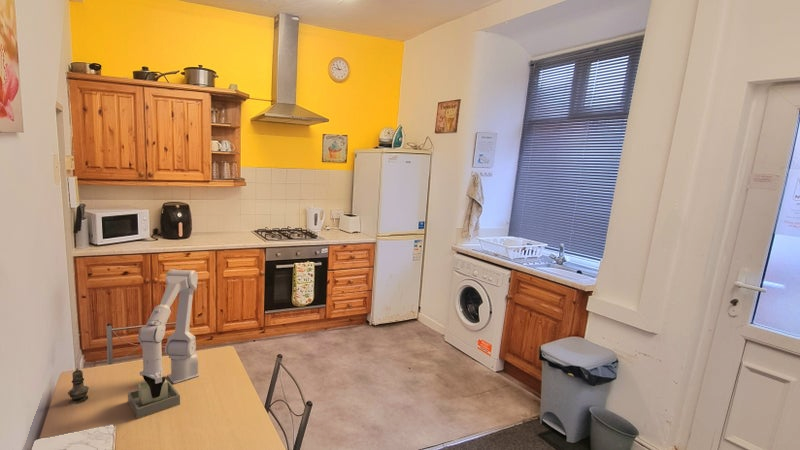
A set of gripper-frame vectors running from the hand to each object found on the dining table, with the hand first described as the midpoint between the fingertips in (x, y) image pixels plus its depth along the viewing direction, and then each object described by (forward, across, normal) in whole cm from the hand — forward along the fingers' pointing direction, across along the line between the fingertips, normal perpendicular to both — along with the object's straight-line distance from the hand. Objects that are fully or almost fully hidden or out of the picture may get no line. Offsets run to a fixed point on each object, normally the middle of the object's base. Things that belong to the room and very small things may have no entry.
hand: (153, 393), depth 144 cm
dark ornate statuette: (+4, -19, -19) cm, 27 cm away
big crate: (+4, 0, 0) cm, 4 cm away
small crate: (+2, 0, 0) cm, 2 cm away
